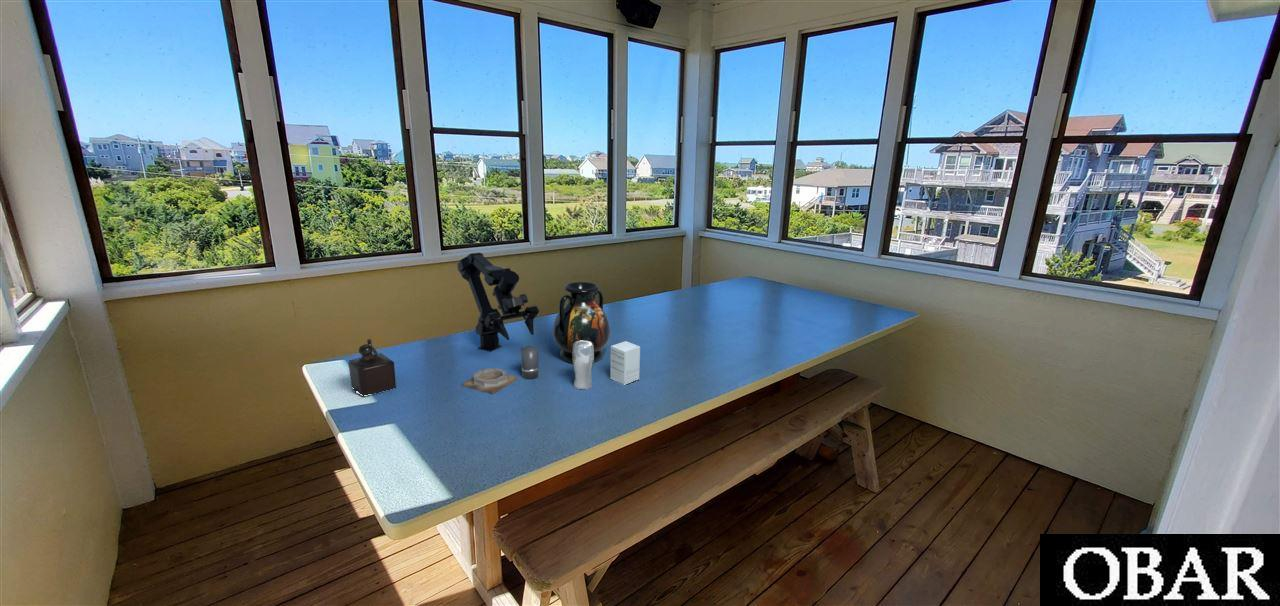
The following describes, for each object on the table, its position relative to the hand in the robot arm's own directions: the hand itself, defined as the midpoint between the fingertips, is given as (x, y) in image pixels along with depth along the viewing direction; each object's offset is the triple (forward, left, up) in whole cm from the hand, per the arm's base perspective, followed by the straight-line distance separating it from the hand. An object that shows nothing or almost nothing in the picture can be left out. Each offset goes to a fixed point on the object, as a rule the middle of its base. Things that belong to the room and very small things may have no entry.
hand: (520, 336), depth 178 cm
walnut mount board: (-2, -14, -12) cm, 19 cm away
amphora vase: (+12, +21, -13) cm, 27 cm away
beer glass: (+26, -1, -13) cm, 29 cm away
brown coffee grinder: (-29, -36, -13) cm, 48 cm away
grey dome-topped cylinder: (+6, -3, -12) cm, 14 cm away
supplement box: (+36, +10, -13) cm, 39 cm away
